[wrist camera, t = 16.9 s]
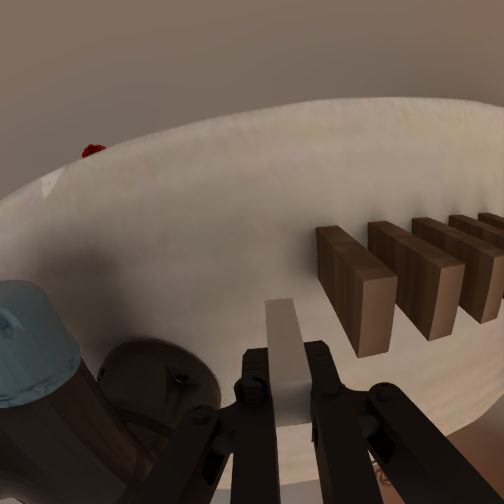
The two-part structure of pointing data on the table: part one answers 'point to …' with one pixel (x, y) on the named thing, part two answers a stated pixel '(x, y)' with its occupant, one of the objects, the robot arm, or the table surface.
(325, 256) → the domino
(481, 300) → the domino
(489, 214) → the domino
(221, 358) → the table surface
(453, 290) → the domino
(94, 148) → the flower
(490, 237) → the domino
